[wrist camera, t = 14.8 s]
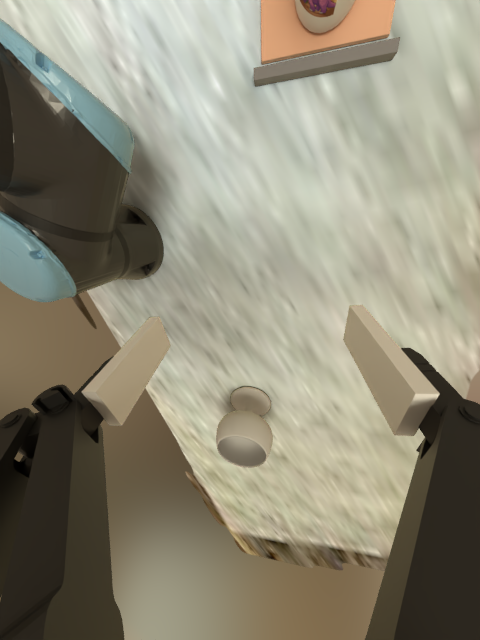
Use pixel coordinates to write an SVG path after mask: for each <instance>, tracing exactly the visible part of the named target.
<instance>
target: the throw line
mask: <svg viewBox="0 0 480 640" xmlns="http://www.w3.org/2000/svg"><path fill="white" fill-rule="evenodd" d="M399 41H400V37H398V38H393V39H389V40H384V41H379V42H375V43H370V44H365V45H360V46H356V47H351V48H346V49H342V50H337V51H332V52H327V53H323V54H318V55H313V56H309V57H304V58H299V59H295V60H290V61H285V62H280V63H276V64H271V65H266V66H262V67H257V68H254V82H255V86H261V85H266V84H271V83H276V82H281V81H286V80H291V79H297V78H302V77H307V76H312V75H317V74H322V73H328V72H333V71H338V70H343V69H348V68H353V67H358V66H364V65H369V64H374V63H379V62H384V61H389V60H392V59H393V57H394V56H395V54H396V53H397V51H398V46H399Z"/></svg>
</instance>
